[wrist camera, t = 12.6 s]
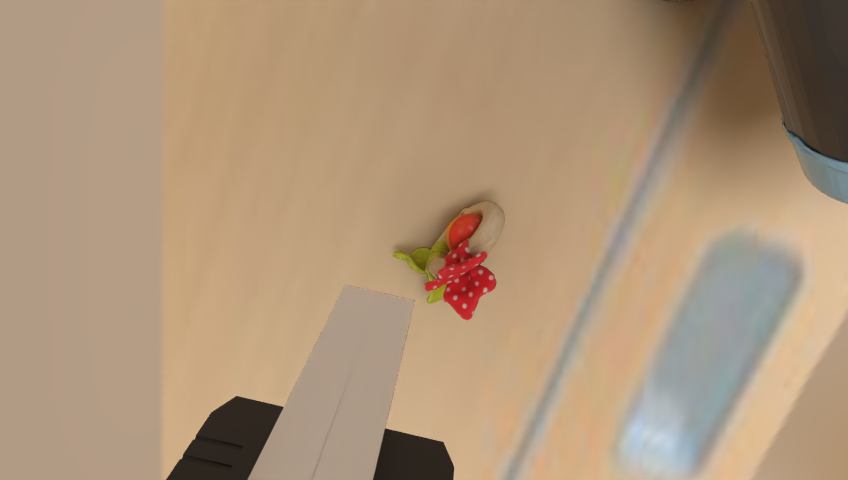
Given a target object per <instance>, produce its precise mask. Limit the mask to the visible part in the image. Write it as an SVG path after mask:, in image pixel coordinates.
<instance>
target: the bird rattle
mask: <svg viewBox="0 0 848 480" xmlns="http://www.w3.org/2000/svg"><path fill="white" fill-rule="evenodd" d="M504 220H505V217H504V213H503V211H502V209H501V208H500V207H499V206H498V205H497V204H496V203H494V202H491V201H484V202H480V203H478V204H475V205H473V206H472V207H470V208H464V209H463V210H462V211H461V212H460V214H459V215H458V216H457V217H456V218H455V219H454V220H452V221H451V223H450V224H449V226H448V227H447V228H446V229H445V231H444V232H443V233H442V234H441V236H440V237H439V239H438V240H437V241H436V243H435V244H434V245H433V246H432V248H431V250H429V249H428V248H418V249H416V250H415V251H414V252H413V253H412V254H411V255H410V254H407V253H405V252H403V251H401V250H398V251H396V252H394V253H393V256H394V257H395V258H399V259H403V260H406V261H407V263H408V264H409V265H410V267H411V268H412V269H413V270H415V271H416V272H418V273H422V274H425V273H427V275H428V279H429V282H427V283H426V284H425V285H424V287H425V289H426V291H430V296H429V297H428V298H427V302H428V303H430V304H431V303H434V302H436V301H439V300H441V299H442V300H443V301H445V302H448V303H449V304H450V305H451V306H452V307H453V308H454V310H455V311H456V312H457V313H458V314H459V315H460V316H461V317H462V318H463V319H465V320H469V319H471V317H472V315H473V313H474V311H475V308H476V306H477V304H478V300H479V298H480V297H481V296H482V295H484V294H486V293H489V292H490V291H492V290H493V289H494V288H495V286H496V283H497V282H496V279H495V277H494V274H493V273H492V272H491V271H489V270H488V269H487V268H485V267H484V266H481V265H480V264H481V263H482V262H483V261H484V260H485V258H486V257H487V253H488V252H489V250H490V249H491V248H492V246H493V245H494V243H495V242H496V240H497V239H498V237H499V235H500V233H501V231H502V228H503V225H504Z"/></svg>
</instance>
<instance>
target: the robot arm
mask: <svg viewBox="0 0 848 480" xmlns="http://www.w3.org/2000/svg"><path fill="white" fill-rule="evenodd" d="M665 1H691V0H665ZM751 4H752V7H753V11H754V15H755V18H756V22H757V25H758V29H759V33H760V36H761V40H762V43H763V47H764V50H765V54H766V58H767V61H768V65H769V68H770V72H771V75H772V79H773V83H774V86H775V90H776V93H777V97H778V101H779V104H780V108H781V111H782V125H783V128H784V129H785V130H786V135H787V137H788V138H789V139H790V141H791V142H792V143H793V145H794V147H795V150H796V153H797V156H798V159H799V161H800V164H801V167H802V170H803V172H804V174H805V176H806V177H807V178H808V180H809V181H810V182H811V183H812V185H813V186H814V187H816V188H817V189H818V190H819V191H821V192H822V193H824V194H826V195H827V196H829V197H831V198H833V199H836V200H838V201H841V202H843V203H846V204H848V0H751ZM414 302H415V300H411V299H406V298H402V297H398V296H393V295H389V294H385V293H380V292H376V291H372V290H367V289H363V288H358V287H354V286H350V285H345V286H344V288H343V290H342V292H341V294H340V296H339V298H338V300H337V302H336V304H335V306H334V308H333V310H332V312H331V314H330V316H329V318H328V320H327V322H326V324H325V326H324V328H323V330H322V332H321V334H320V336H319V338H318V340H317V342H316V344H315V346H314V348H313V350H312V352H311V354H310V356H309V358H308V360H307V362H306V364H305V366H304V368H303V370H302V372H301V374H300V376H299V378H298V380H297V382H296V384H295V386H294V388H293V390H292V392H291V394H290V396H289V398H288V400H287V402H286V404H285V406H284V407H281V406H277V405H273V404H268V403H264V402H260V401H255V400H251V399H247V398H242V397H238V396H236V397H234V398H233V399H231V400H230V401H228V402H227V403H225V404H224V405H222V406H221V407H219V408H218V409H216V410H215V411H213V412H212V413H211V414H210V416H209V417H208V418H207V420H206V421H205V423H204V424H203V426H202V427H201V429H200V430H199V432H198V433H197V435H196V438H195V440H193V441H192V442H191V444H190V445H189V447H188V448H187V450H186V451H185V453H184V454H183V458H182V459H180V460H179V462H178V463H177V464H176V466H175V467H174V469H173V470H172V472H171V473H170V475H169V476H168V478H167V479H166V480H453V476H454V466H453V463H452V461H451V459H450V456H449V454H448V452H447V450H446V447H445V445H444V443H443V442H441V441H436V440H432V439H428V438H423V437H419V436H415V435H410V434H406V433H402V432H398V431H393V430H389V429H385V428H386V424H387V419H388V415H389V411H390V407H391V402H392V398H393V393H394V389H395V385H396V380H397V376H398V372H399V367H400V363H401V358H402V354H403V350H404V345H405V341H406V337H407V332H408V328H409V323H410V319H411V315H412V310H413V306H414Z"/></svg>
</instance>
